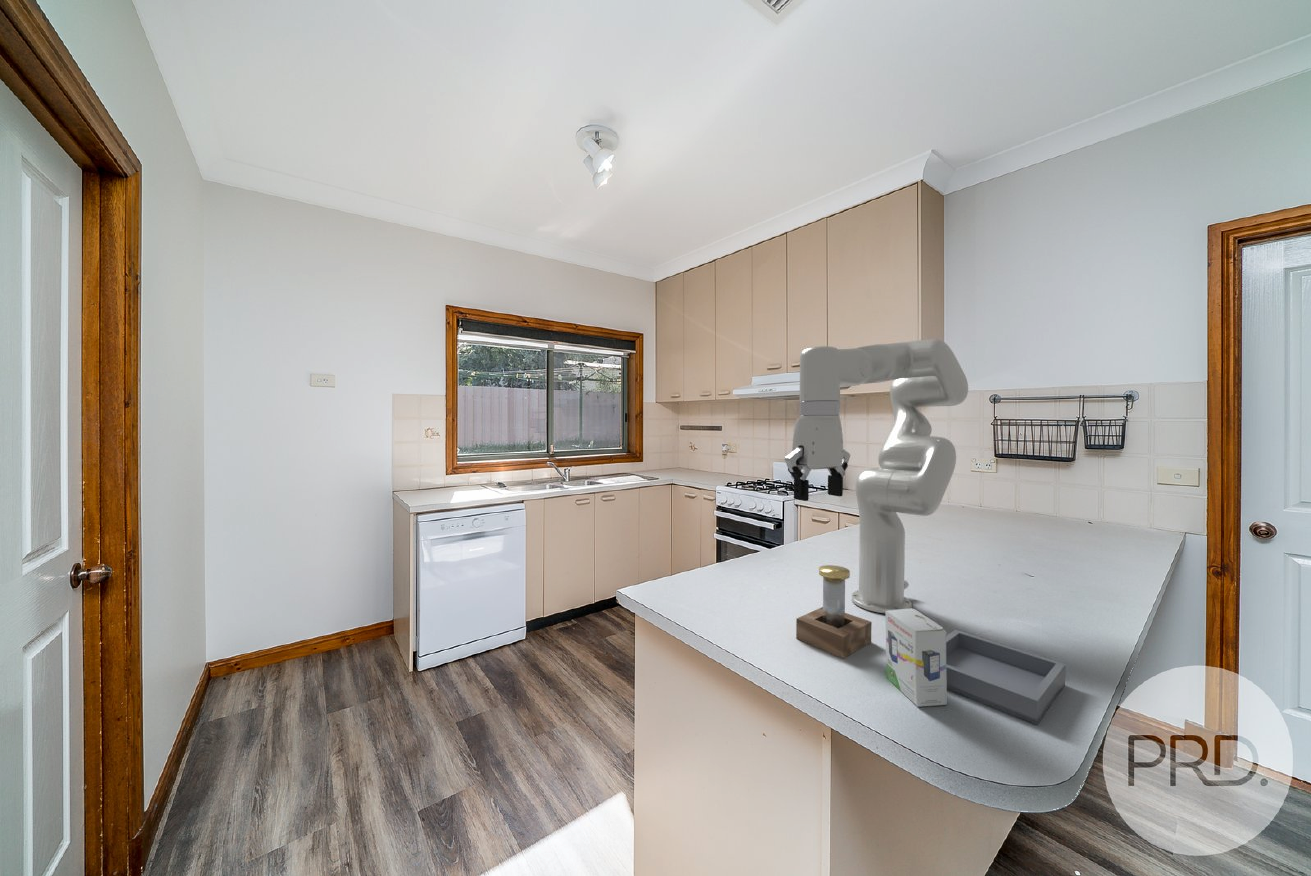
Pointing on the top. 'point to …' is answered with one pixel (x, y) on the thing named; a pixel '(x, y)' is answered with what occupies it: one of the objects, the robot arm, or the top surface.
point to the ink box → (916, 656)
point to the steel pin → (834, 594)
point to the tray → (1002, 676)
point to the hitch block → (834, 633)
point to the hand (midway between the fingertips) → (818, 497)
